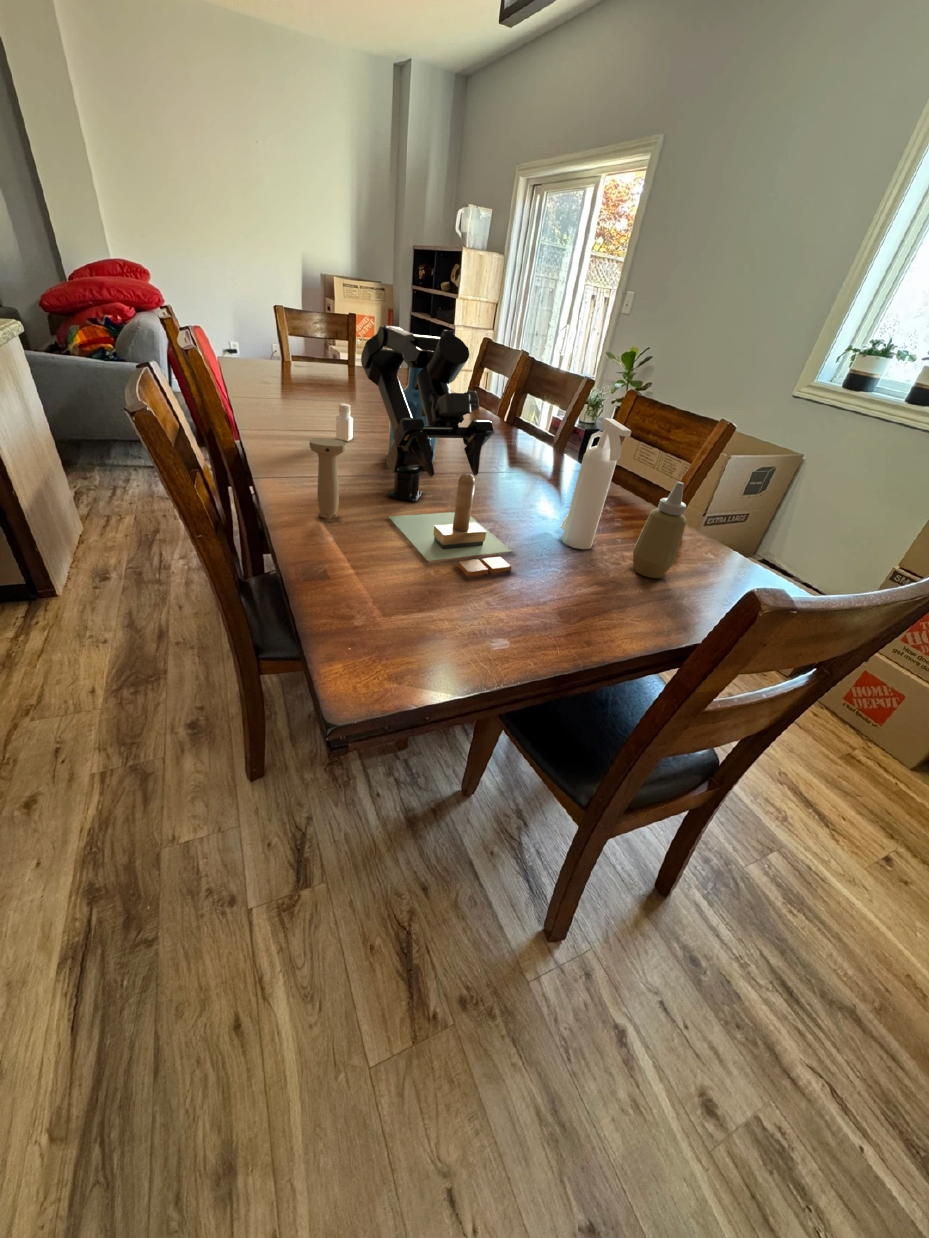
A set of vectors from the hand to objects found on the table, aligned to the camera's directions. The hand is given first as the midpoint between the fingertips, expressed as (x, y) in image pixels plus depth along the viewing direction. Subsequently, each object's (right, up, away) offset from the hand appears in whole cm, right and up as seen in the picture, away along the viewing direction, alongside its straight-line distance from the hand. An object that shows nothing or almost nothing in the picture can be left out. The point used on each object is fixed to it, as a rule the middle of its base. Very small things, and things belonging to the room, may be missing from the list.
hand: (454, 475), depth 95 cm
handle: (-25, -7, +6) cm, 27 cm away
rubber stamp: (+1, -12, +3) cm, 13 cm away
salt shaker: (-34, +26, +55) cm, 69 cm away
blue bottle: (-13, +17, +46) cm, 51 cm away
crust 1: (+3, -19, -5) cm, 20 cm away
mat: (-2, -10, +7) cm, 12 cm away
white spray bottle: (+25, -10, +14) cm, 31 cm away
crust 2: (+7, -18, -3) cm, 20 cm away
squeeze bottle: (+38, -18, +5) cm, 42 cm away
